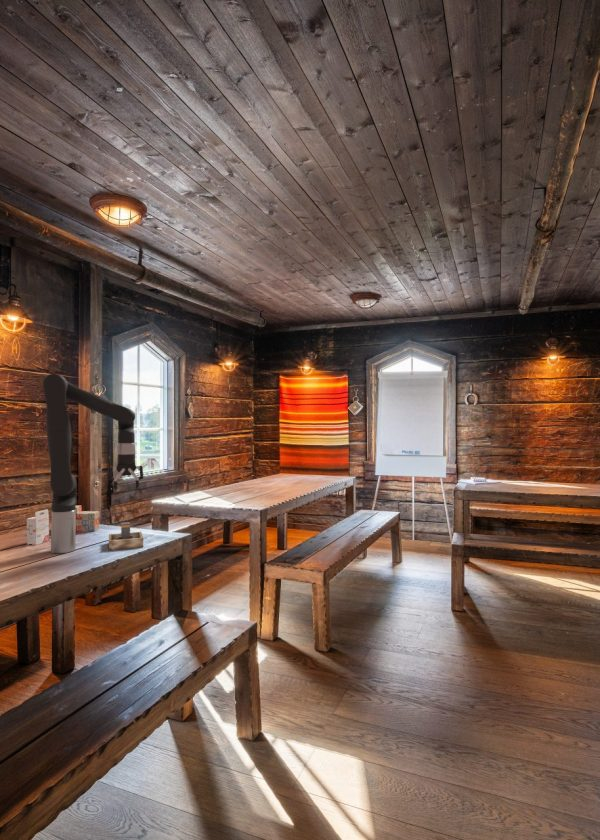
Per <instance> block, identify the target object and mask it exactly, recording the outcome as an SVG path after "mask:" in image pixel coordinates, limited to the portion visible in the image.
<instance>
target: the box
mask: <svg viewBox="0 0 600 840" xmlns="http://www.w3.org/2000/svg"><path fill="white" fill-rule="evenodd" d="M139 548H141V549H142V548H144V536H143V533H142V531H134V532H131V531H130V539H122V540H121V533H110V534H108V551H118V550H128V549H129V550H130V549H139Z"/></svg>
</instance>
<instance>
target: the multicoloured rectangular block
mask: <svg viewBox="0 0 600 840" xmlns="http://www.w3.org/2000/svg"><path fill="white" fill-rule="evenodd" d="M98 530H100V511H99V510H96V511H95V510H94V511H93V510H87V511H86V510H85V511H84V510H83V506H82V505H76V532H78V533H79V532H82V533H84V532H85V533H89V532H93V533H94V532H97V531H98Z"/></svg>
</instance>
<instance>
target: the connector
mask: <svg viewBox="0 0 600 840" xmlns="http://www.w3.org/2000/svg"><path fill="white" fill-rule="evenodd" d="M120 528H121V529H120V531H121V540H122V539H130V533H131V522H128V521H126V522H120Z"/></svg>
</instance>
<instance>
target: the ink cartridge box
mask: <svg viewBox="0 0 600 840" xmlns="http://www.w3.org/2000/svg"><path fill="white" fill-rule="evenodd" d="M34 515H35V516H32V517H28V518H26V545H29V544H32V546H36V545H39V544H43V543H46V542H49V541H50V515H49V510H48V508H47V509H44V510H39V511H35V512H34ZM45 541H46V542H45ZM42 542H43V543H42Z"/></svg>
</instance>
